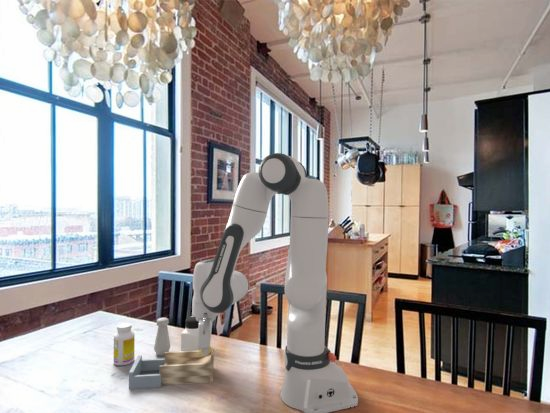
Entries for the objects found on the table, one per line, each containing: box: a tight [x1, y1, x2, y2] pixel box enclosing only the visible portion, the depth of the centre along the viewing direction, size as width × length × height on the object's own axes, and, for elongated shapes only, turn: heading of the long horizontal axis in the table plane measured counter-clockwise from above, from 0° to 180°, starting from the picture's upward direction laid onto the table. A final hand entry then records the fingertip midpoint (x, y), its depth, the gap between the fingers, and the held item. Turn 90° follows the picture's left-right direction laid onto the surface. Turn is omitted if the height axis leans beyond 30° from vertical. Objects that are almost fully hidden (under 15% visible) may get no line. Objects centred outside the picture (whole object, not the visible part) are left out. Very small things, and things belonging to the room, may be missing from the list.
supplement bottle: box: [113, 322, 135, 366], centre depth 117 cm, size 7×7×13 cm
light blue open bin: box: [128, 355, 165, 390], centre depth 106 cm, size 9×11×5 cm
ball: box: [199, 345, 212, 356], centre depth 109 cm, size 4×4×4 cm
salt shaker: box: [153, 317, 171, 357], centre depth 124 cm, size 6×6×13 cm
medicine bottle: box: [180, 315, 199, 351], centre depth 128 cm, size 7×7×12 cm
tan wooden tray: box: [159, 349, 215, 386], centre depth 108 cm, size 16×10×6 cm, turn 99°
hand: (205, 350), depth 109 cm, fingers closed on ball, 4 cm apart
